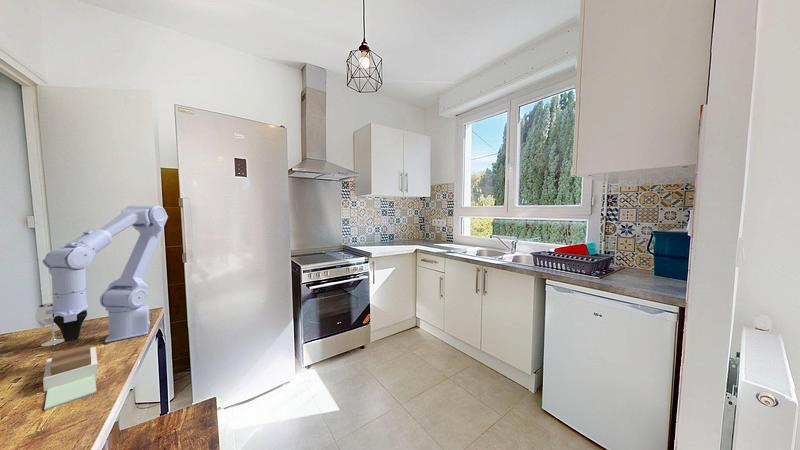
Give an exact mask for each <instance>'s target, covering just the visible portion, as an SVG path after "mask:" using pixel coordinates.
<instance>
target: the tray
mask: <svg viewBox="0 0 800 450" xmlns="http://www.w3.org/2000/svg"><path fill="white" fill-rule="evenodd" d="M90 351H91V365H88V366H84V367H81V368H77V369H74V370H70V371H67V372H63V373H60V374H56V375H53V376H51V370H50V367H51V361H52V357H50V358H47V359H46V363H45V368H44V374H43V379H42V381H43V392H47V390H48V389H51V388H54V387H57V386H60V385H63V384H67V383H70V382H73V381H76V380H80V379H83V378H86V377H89V376H93V375H95V377H96V376H99V369H98V364H99V363H98V356H97V349H96V346H93V347H90Z"/></svg>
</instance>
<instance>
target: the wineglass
mask: <svg viewBox="0 0 800 450" xmlns="http://www.w3.org/2000/svg"><path fill="white" fill-rule="evenodd" d="M52 309H53V302H49V303H47V302H46V303H43V304H41V305H39V306H38V308H37V310H36V313H35V321H36V323H37V324H38V325H40V326H44V327H45V326H46V327H48V326H49V330H50V332H51V339H50V340H49V341H46V342H43V343H41V344H40V346H41V347H51V346H55V345H59V344H60V343H63V342H65V340H64V338H55V331H56V324H55V323H54V322H53V319H54V317H55V316H58V315H55V314H48V315H46V311H47V310H52Z"/></svg>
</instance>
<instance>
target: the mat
mask: <svg viewBox="0 0 800 450" xmlns="http://www.w3.org/2000/svg"><path fill="white" fill-rule="evenodd" d="M96 383H97V382H96V376H95V375H93V376H89V377H86V378H83V379H80V380H76V381H73V382H70V383H67V384H63V385H60V386H57V387H54V388H51V389H48V390H47V391H46V397H45V401H44V402H45V403H44V408H43V409H44V411H47V410H49V409H52V407H53V408H55V407H58V406H61V405H64V404H66V403H70V402H73V401H75V400H78V399H81V398H85V397H87V396H90V395H93V394H96V393H97V384H96Z"/></svg>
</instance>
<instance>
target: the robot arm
mask: <svg viewBox="0 0 800 450" xmlns="http://www.w3.org/2000/svg"><path fill="white" fill-rule="evenodd" d="M168 218H169V216H168V214H167V211H166V209H165V208H164V207H163V206H161V205H136V204H131V205H127V207H125V208H122V209H121V213H120V214H119V215H117V216H116V217H114V218H113V219H112V220H111V221H109V222H107V224H105V225H104V226H103V227H101V228H100V229H87V230H84V231H83V232H82V234H81V236H79V237H77V238H75V239H74V240H72V241H69V242H67V243H66V245H65V246H64V247H56V248H54V249H51V250H50V251H48V252H47V254H45V257H44V258H43V259H42V263H43V265H44V266H45V268H47V269H48V272H49V275H50V276H51V292H52V293H51V294H52V303H53V309H52V310H47V311H46V315H48V314H55V315H58V316H55V317H54V319H53V322H54V323H55V326H57V327H58V328H59V330H60V332H61V335H62V337H63V338H62V339H64V340H65V341H64V343H69V342H73V341H77V340H79V338H80V333H81V329H82V325H83V323H84V321H85V319H86V318H87V317H88V311H87V309H88V308H89V304H88V296H87V270H86V269H87V267H88V266H90V265H91V264H92V262H93V259H94V257H95V256H96V255H97V254H98V253H99V252H100V251H102V250H103V249H105V248H106V247H108V246H110V245H111V244H112V242H113V237H114V236H117V235H118V234H120V233H121V232H123V231H125V230H126V229H128V228H130V227H132V228H133V229H135V230H136V231H137V232H139V236H138V238H137V241H136V243H135V245H134V247H133V250H132V251H131V253H130V255H129V257H128V260H127V262H126V265H125V267H124V269H123V270H122V273H121V275H120V276H119V278H117V279H116V280H114V281H112V282H110V283H109V285H108V287H107V288H106V289H105V290H104V291H103V292H102V293H101V295H100V296H99V304H100V305H101V306H102V307H103V308H105V311H108V312H107V314H108V315H107V317H108V318H107V319H108V335H107V337H106V338H105V341H104V343H110V342H111V343H112V342H115V341H116V342H117V341H120V340H126V339H130V338H135V337H139V336H144V335H147V334H148V333H149V331H150V326H151V321H150V305H148V304H145V305H144V303H145V302H146V301H147V297H148V289H149V285H148V284H147V283H146V282H145V281H144V278H145V275H146V273H147V271H148V268H149V266H150V263H151V261H152V259H153V256H154V254H155V251H156V250H157V247H158V244H159V242H160V240H161V237H162V235H163V229H164V228H165V225H166V222H167V220H168Z"/></svg>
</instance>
